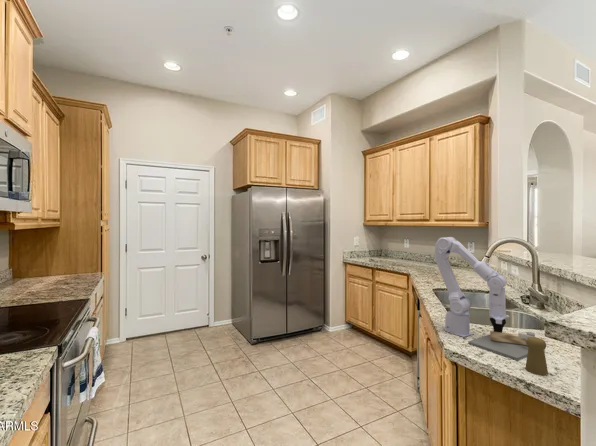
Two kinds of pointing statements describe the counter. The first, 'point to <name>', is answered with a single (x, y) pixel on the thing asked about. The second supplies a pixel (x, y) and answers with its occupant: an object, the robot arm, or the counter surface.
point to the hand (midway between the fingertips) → (497, 336)
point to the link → (507, 338)
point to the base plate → (502, 347)
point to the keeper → (524, 335)
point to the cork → (536, 356)
